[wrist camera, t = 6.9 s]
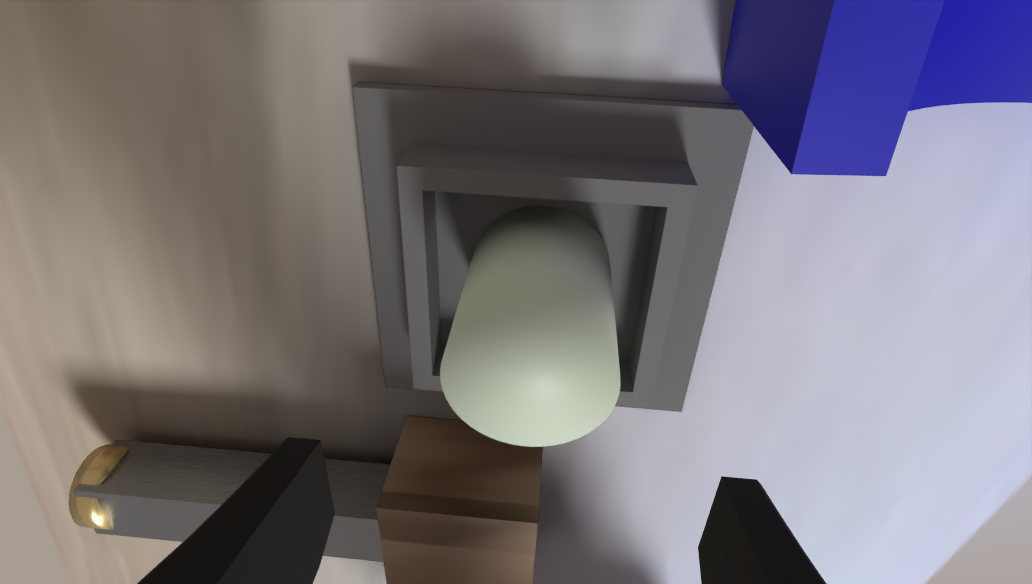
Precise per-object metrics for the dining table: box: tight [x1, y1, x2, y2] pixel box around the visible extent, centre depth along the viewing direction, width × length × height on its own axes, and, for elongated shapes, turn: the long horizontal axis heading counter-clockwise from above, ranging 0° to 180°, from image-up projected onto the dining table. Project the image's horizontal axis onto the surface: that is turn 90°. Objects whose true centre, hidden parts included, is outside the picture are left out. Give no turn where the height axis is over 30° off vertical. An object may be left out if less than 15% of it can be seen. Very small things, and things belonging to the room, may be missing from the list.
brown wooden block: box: [376, 416, 543, 584], centre depth 22 cm, size 5×6×4 cm
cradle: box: [352, 82, 754, 412], centre depth 17 cm, size 10×10×2 cm
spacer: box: [440, 205, 620, 447], centre depth 16 cm, size 4×4×5 cm
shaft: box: [69, 440, 390, 562], centre depth 23 cm, size 14×3×3 cm, turn 88°
